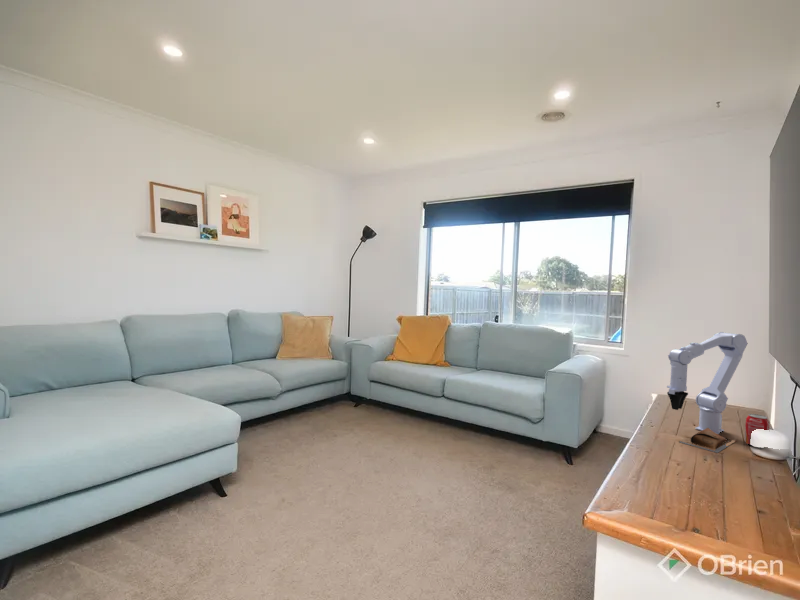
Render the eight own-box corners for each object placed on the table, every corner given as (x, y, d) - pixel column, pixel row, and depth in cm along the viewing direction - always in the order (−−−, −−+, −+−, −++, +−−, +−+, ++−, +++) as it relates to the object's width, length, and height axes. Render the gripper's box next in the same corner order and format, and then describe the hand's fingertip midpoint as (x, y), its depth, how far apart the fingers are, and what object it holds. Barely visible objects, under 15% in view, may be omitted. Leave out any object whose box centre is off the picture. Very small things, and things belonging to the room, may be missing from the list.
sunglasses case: (716, 449, 153) (706, 431, 155) (697, 453, 157) (687, 436, 160) (728, 440, 164) (719, 424, 166) (710, 444, 169) (701, 428, 171)
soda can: (758, 443, 162) (760, 413, 162) (773, 450, 155) (775, 419, 155) (739, 442, 163) (741, 412, 162) (753, 448, 156) (755, 418, 155)
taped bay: (700, 431, 174) (700, 431, 174) (736, 441, 164) (736, 440, 164) (678, 442, 159) (678, 441, 159) (717, 453, 149) (717, 452, 149)
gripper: (674, 374, 181) (672, 404, 181) (661, 377, 172) (659, 408, 173) (693, 377, 175) (691, 408, 176) (680, 380, 167) (678, 413, 167)
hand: (676, 408), depth 174 cm, fingers open, 3 cm apart
